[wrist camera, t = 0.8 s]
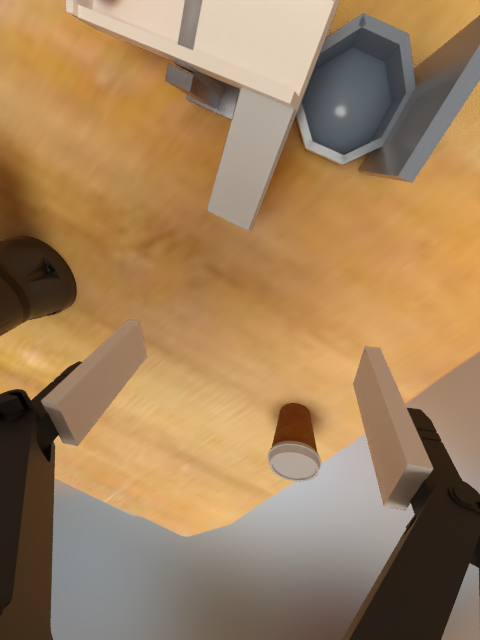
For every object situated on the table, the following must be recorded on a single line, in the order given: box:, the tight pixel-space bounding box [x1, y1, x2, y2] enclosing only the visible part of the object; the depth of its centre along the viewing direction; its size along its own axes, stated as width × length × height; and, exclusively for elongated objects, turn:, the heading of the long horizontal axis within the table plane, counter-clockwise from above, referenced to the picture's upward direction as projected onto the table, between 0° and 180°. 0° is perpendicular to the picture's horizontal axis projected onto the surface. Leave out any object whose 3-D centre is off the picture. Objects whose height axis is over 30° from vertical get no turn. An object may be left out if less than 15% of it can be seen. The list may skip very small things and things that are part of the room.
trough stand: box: [165, 64, 241, 120], centre depth 26 cm, size 6×11×11 cm, turn 159°
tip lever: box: [66, 0, 340, 231], centre depth 24 cm, size 22×18×4 cm
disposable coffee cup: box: [268, 404, 321, 481], centre depth 52 cm, size 10×10×12 cm
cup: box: [295, 13, 480, 183], centre depth 24 cm, size 12×11×16 cm
